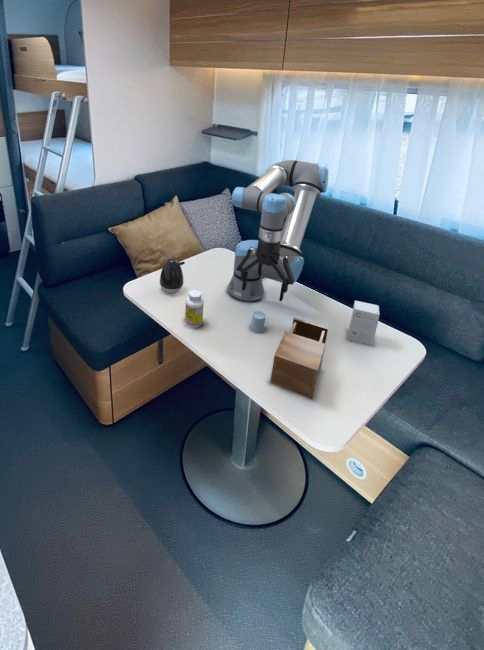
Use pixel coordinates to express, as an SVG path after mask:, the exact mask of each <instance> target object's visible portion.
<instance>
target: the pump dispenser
mask: <svg viewBox="0 0 484 650" xmlns="http://www.w3.org/2000/svg"><path fill="white" fill-rule="evenodd" d="M185 264H186V262H185V261H178V259H177V258H176V257H175V258H174V257H170V258H167V260H166V261H165V262H164V264H163V266H162V268H161V272H160V276H159V285H160V287H161V289H162V290H163V292H164V293H167V294H176V293H179V292H180V291H181V290H182V288H183V286H184V283H185V282H184V274H183V269H182V266H183V265H185Z"/></svg>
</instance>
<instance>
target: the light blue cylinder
mask: <svg viewBox="0 0 484 650" xmlns="http://www.w3.org/2000/svg"><path fill="white" fill-rule="evenodd" d="M266 318H267V317H266V314H265V312H263V311H261V310H260V311H259V310H256V311H253V312H252V315H251V323H250V329H251V330H252V331H253V332H255V333H263V332H264V331H265V324H266Z"/></svg>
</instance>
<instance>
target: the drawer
mask: <svg viewBox="0 0 484 650" xmlns="http://www.w3.org/2000/svg"><path fill="white" fill-rule="evenodd" d="M328 331H329V327H327V326H325V325H321V324H319V323H314V322H312V321H308V320H304V319H302V318H301V319H300V318H297V317H293V319H292V326H291V329H290V330H289V332H290V333H293V334H296V335H299V336H302V337H305V338H309V339H312V340H315V341H318V342H321V343H324V344H325V345H326V342H327V337H328V333H329V332H328Z"/></svg>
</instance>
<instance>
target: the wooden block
mask: <svg viewBox="0 0 484 650" xmlns="http://www.w3.org/2000/svg"><path fill="white" fill-rule="evenodd" d="M325 348H326V343H325V344H324V343H321V342H318V341H315V340H312V339H309V338H305V337H302V336H299V335H296V334H293V333H290V331H286V330H285V331H284V333H283V335H282V337H281V339H280V342H279V343H278V346H277V349H276V351H275V353H274V356H273V361H272V362H273V363H272V368H271V374H270V375H271V376H270V382H269V384H271V385H274V386H277V387H280V388H281V389H285V390H287V391H289V392H293V393H295V394H298V395H301V396H303V397H306V398H308V399H311V400H313V398H314V395H315V392H316V388H317V384H318V381H319V378H320V373H321V371H322V364H323V358H324V354H325V350H326V349H325Z"/></svg>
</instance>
